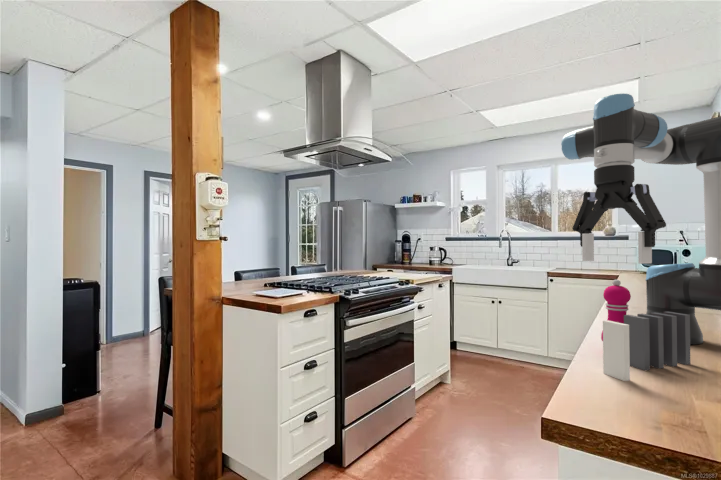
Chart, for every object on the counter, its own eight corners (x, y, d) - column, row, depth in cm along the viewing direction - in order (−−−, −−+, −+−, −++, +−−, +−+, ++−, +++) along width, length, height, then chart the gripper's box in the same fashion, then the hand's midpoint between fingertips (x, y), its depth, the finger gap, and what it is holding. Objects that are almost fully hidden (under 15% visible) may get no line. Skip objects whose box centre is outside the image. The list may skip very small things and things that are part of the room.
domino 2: (642, 361, 96) (642, 313, 96) (663, 367, 91) (663, 317, 91) (637, 362, 95) (637, 313, 95) (658, 368, 91) (658, 317, 91)
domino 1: (629, 363, 94) (628, 314, 95) (649, 369, 90) (649, 318, 90) (624, 364, 94) (623, 315, 94) (644, 370, 89) (644, 318, 89)
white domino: (608, 372, 88) (608, 320, 88) (629, 380, 83) (629, 324, 83) (603, 373, 87) (602, 320, 87) (624, 381, 82) (623, 325, 83)
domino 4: (668, 358, 98) (668, 311, 99) (690, 364, 94) (689, 314, 94) (664, 358, 98) (663, 311, 98) (685, 364, 93) (685, 315, 93)
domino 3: (655, 360, 97) (655, 312, 97) (677, 366, 92) (676, 316, 92) (651, 360, 97) (650, 312, 97) (672, 366, 92) (671, 316, 92)
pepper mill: (624, 361, 96) (623, 281, 97) (595, 353, 103) (594, 279, 103) (640, 356, 100) (639, 280, 100) (611, 350, 106) (610, 277, 106)
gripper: (556, 175, 96) (557, 260, 96) (659, 152, 72) (660, 265, 72) (579, 177, 98) (580, 259, 98) (687, 155, 75) (688, 264, 74)
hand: (614, 262), depth 85 cm, fingers open, 13 cm apart
